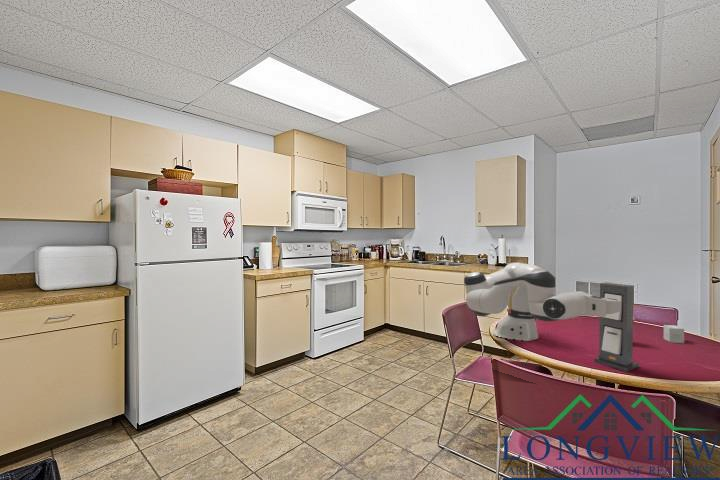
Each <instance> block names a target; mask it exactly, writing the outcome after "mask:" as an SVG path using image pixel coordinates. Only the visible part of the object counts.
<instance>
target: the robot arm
mask: <svg viewBox="0 0 720 480" xmlns="http://www.w3.org/2000/svg"><path fill="white" fill-rule="evenodd" d="M463 284H464V285H465V293H466V296H465V302H466V303H465V304H466V305H467V307H468V308H469V309H471V310H472V312H473V314H474V315H475V316H477V317H488V316H489V315H496V314H500V313H502V312H504V311H505V310H506V312H507V316H505V317H503V318H502V319H500V320H499V321H498V322H497V326H496V328H493V330H492V335H493V334H494V335H496V334H497V336H500V337H502V338H501V339H505V338H507V340H513V339H515V340H516V341H521V340H523V342H530V341H534V340H537V339H539V333H538V330H537V320H538V321H543V322H556V321H559V320H568V319H574V318H576V317H578V318H579V317H581V316H582V317H590V316H591V317H599V318H600V317H605V316H606V314H613V313H617V312H620V311H621V302H620V301H618V300H611V299H605V298H600V296H595V295H592V294H590V293H587V292H584V291H582V290H580V291H579V290H578V291H571V292H568V291H566V292H560V293H559V294H557V291H556V287H557V285H556V284H557V283H556V277H555V276H554V274H553V273H551V272H549V270H544V268H542V267H540V266H538V265H535V264H532V263H531V264H530V263H523V262H510V263H507V264H506V265H505V267H503V268H502V269H500V270H498V271H495V272H492V273H488V274H486V275H485V274H484V273H482V272H480V271H473V272H470V273H468V274H466V275H465V276H464V278H463ZM516 287H517V288H516ZM515 288H516V290H515V292H513V293H512V291H513V289H515ZM511 293H512V298H511V299H512V302H511V303H512V305H511V306H512V307H511V308H510V307H508V305H509V304H510V297H511ZM507 307H508V308H507ZM494 335H493V336H494ZM515 340H514V341H515Z"/></svg>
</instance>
